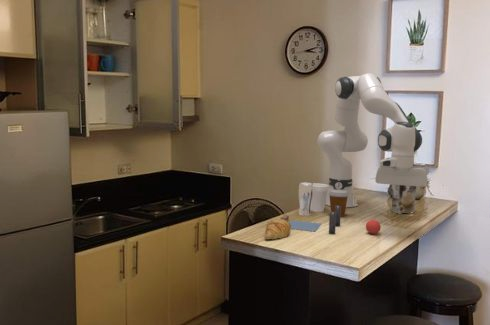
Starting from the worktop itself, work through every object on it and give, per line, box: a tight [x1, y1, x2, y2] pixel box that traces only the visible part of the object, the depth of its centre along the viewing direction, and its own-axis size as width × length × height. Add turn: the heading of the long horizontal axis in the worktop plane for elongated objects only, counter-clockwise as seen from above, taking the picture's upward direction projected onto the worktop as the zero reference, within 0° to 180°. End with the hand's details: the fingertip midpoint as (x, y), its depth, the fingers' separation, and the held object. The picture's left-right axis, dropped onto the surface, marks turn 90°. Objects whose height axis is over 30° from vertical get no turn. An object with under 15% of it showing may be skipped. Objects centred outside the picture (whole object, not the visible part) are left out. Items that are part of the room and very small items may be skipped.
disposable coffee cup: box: [329, 189, 349, 218], centre depth 245 cm, size 10×10×12 cm
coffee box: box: [391, 185, 417, 215], centre depth 254 cm, size 9×6×16 cm
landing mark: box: [288, 220, 322, 233], centre depth 225 cm, size 14×14×1 cm
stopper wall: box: [279, 215, 290, 223], centre depth 228 cm, size 12×2×2 cm, turn 160°
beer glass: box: [298, 181, 314, 217], centre depth 246 cm, size 7×7×15 cm
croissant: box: [264, 218, 291, 240], centre depth 210 cm, size 21×10×8 cm, turn 153°
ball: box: [365, 219, 382, 235], centre depth 215 cm, size 6×6×6 cm
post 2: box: [335, 205, 342, 228], centre depth 226 cm, size 3×3×9 cm
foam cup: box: [311, 182, 329, 213], centre depth 254 cm, size 10×9×13 cm
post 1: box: [328, 211, 336, 235], centre depth 214 cm, size 3×3×9 cm
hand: (400, 195), depth 210 cm, fingers closed
